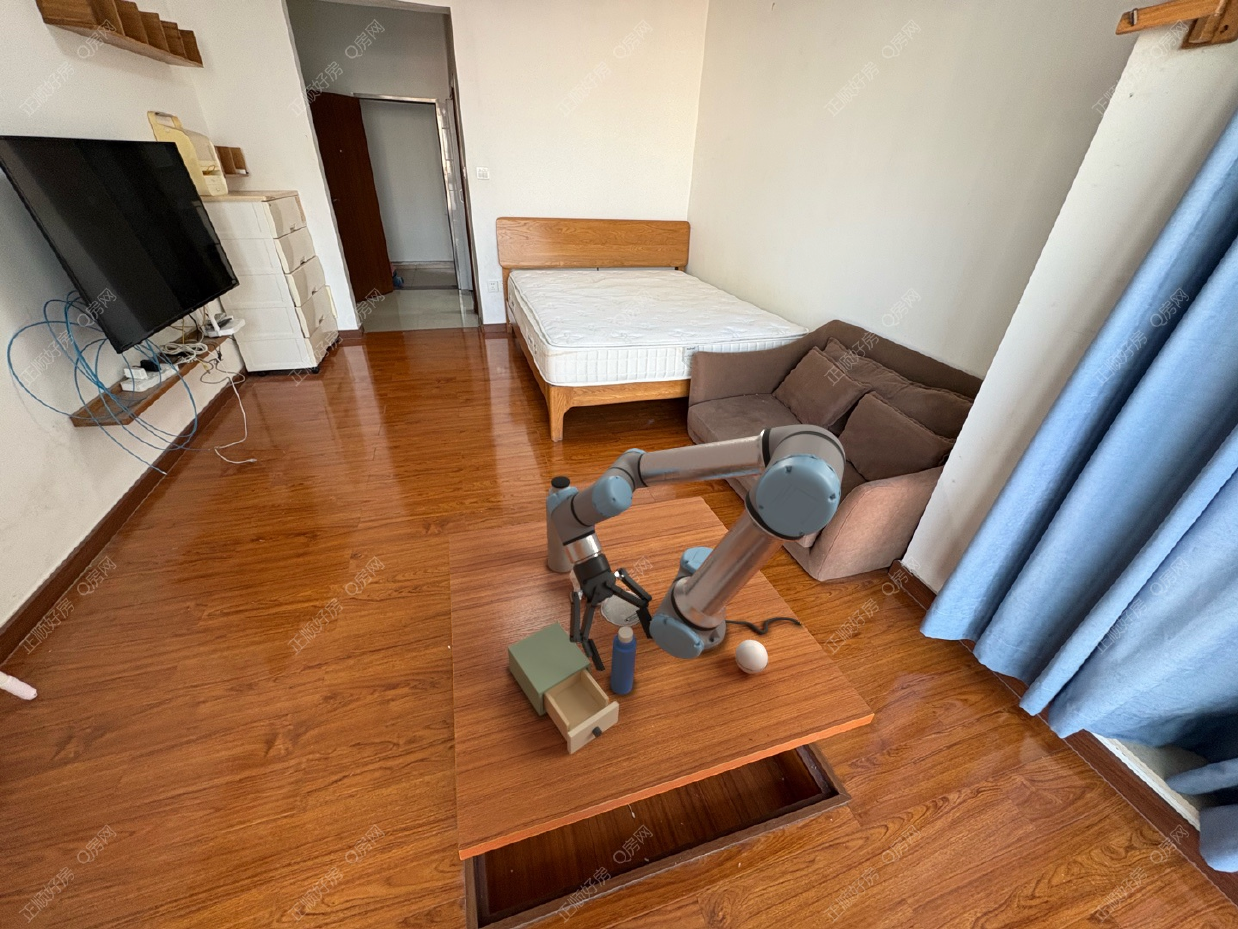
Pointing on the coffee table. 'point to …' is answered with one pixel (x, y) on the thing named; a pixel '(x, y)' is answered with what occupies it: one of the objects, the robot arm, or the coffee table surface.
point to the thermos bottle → (554, 545)
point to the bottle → (623, 661)
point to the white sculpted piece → (577, 586)
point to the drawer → (580, 709)
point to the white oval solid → (751, 656)
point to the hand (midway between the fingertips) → (627, 653)
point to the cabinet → (545, 662)
